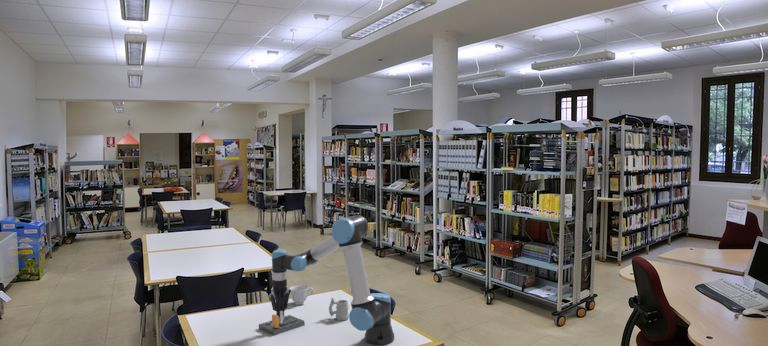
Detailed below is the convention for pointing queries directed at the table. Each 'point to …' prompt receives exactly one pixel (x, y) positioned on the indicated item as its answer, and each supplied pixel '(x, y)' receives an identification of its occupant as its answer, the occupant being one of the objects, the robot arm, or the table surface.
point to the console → (282, 325)
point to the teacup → (300, 293)
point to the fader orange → (275, 321)
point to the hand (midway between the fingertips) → (280, 322)
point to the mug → (340, 309)
